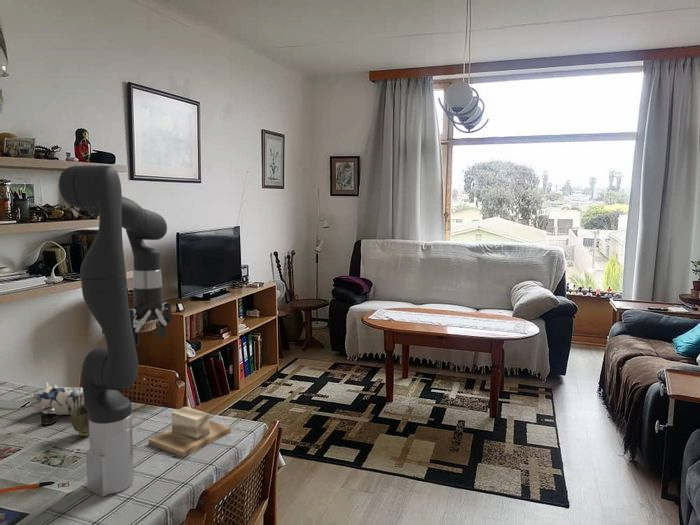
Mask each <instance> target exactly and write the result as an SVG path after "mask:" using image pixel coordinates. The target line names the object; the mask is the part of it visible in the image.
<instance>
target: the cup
mask: <svg viewBox="0 0 700 525" xmlns="http://www.w3.org/2000/svg"><path fill="white" fill-rule="evenodd" d="M69 417H70V421H71V426H72V428H73V429H74V431H75V432H78V433H77V435H78V436H79V437H81V438H87V437H89V415H88V412H87V410H86V408H85V405H84V404H83V405H82V406H81V408H80V407H79V406H78V407H77V409H76V408H73V409H71V411H70V416H69Z"/></svg>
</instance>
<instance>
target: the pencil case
mask: <svg viewBox="0 0 700 525" xmlns="http://www.w3.org/2000/svg"><path fill="white" fill-rule="evenodd" d="M45 387H46V388H45V389H44V390H43V391H42V393H38V394H37V396H36V397H37V398H36V401H40V403H39V409H40V411H41V410H42V408H43V407H45V406H47V405H51V406H53V407H54V409H55V414H56V415H55V416H64V415H65V416H69V415H70V411H71V409H73V408H76V409H77V407H78V406H79V407H80V408H81V406H82V405H83V404H84V395H83V386H82V387H69V386H67V387H66V386H63V387H62V386H57V384H54V383H52V384H49V382H47V383H45Z"/></svg>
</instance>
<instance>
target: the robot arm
mask: <svg viewBox="0 0 700 525" xmlns="http://www.w3.org/2000/svg"><path fill="white" fill-rule="evenodd" d="M121 184H122V183H121V178H120V176H119V173H118V172H117V170H116V169H115V168H114V167H113V166H111V165H74V166H73V165H71V166H68V167H67V168H64V169H63V170H62V172H61V174H60V176H59V179H58V189H59V193H60V195H61V197H62V199H63V200H64V201H65V203H67V205H68V206H71V207H73V208H76V209H80V210H84V211H87V212H90V213H92V214H95V215H98V216H99V220H98V223H99V224H98V230H97V233H96V236H95V238H94V240H93V242H92V244H91V246H90V247H89V249H88V251H87V253H86V254H85V256H84V258H83V260H82V262H81V266H80V271H79V272H80V282H81V283H80V284H81V292H82V293H81V294H82V298H83V300H84V303H85V304H86V306H87V308H88V310H89V312H90V313H91V315H92V316H93V318H94V319H95V321H96V322H97V323H98V325H99V327H100V329H101V330H102V333H103V335H104V338H105V342H106V347H96V348H94V349H91V350H90V351H89V352H88V353H87V354H86V356H85V358H84V359H83V363H82V366H81V367H82V368H81V384H82V387H83V395H84V405H85V408H86V410H87V412H88V415H89V436H88V437H89V449H88V450H86V451H85V458H86V459H85V461H86V462H85V463H86V483H87V484H86V486H87V489H86V490H88V491H90V492H92V493H94V494H97V495H99V496H100V497H103V498H104V497H106V496H108V495H115V494H117V493H120V492H122V491H125V490H127V489H129V487H131V486H132V485H133V483H134V481H135V478H134V476H135V473H134V448H133V447H134V446H133V445H134V444H133V443H134V442H133V413H132V412H133V408H132V407H133V406H132V402H131V400H130V399H129V398H128V397H126V396H125V395H123V394H122V393H121V392H120V391H126V390H128V389H130V388H131V387H133V385H134V384H135V382H136V380H137V377H138V373H139V359H138V353H137V349H136V346H139V345H141V342H140V330H141V328H142V327H143V326H144V325H145V323H148V322H151V321H155V322H156V323H157V324H158V325H157V337H158V339H160V340H163V339H166V338H165V337H166V336H167V328H166V327H167V325H168V324H169V323H172V321H173V317H172V304H171V303H170V302H167V301H163V279H162V268H161V265H162V264H161V260H162V259H161V251H160V250H159V249H157V248H154V247H149V246H147V245H146V243H145V241H146V240H147V241H159V240H161V239H163V238H164V237H165V236H166V234H167V231H168V225H167V222H166V219H165V218H164V217H163V216H162V215H160V214H159V213H157V212H156V211H151V210H149V209H145V208H143V207H142V206H141V205H139V204H138V203H136V202H135V200H132V199H130V198H127V197H125V196H122V194H123V193H122V185H121ZM123 229H124V230H125V232H126V236H127V238H128V239H127V240H128V241H129V244H130V248H131V251H132V255H133V256H132V257H133V274H132V277H133V278H132V284H133V286H132V287H133V289H132V290H133V302H134V303H133V304H134V307H133V308H129V307H130V306H129V297H128V296H129V295H128V294H129V293H128V281H127V269H126V262H125V254H124V244H123V243H124V241H123ZM144 240H145V241H144Z"/></svg>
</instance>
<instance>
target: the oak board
mask: <svg viewBox="0 0 700 525" xmlns="http://www.w3.org/2000/svg"><path fill="white" fill-rule="evenodd" d="M228 433H229V434H230V433H232V427H231V426H229V425H225V424H222V423H219V422H216V421H212V420H210V434H209V435H207V436H205V437H203V438H201V439H199V440H197V441H196V440H193V439H190V438H188V437H185V436H182V435H179V434H176V433H173V432H172V428H169V429H168V430H165V431H163V432H161V433H159V434H157V435H155V436H153V437H150V438H149V439H148V445H150V446H152V447H155V448H157V449H161V450H162V451H166V452H168V453H172V455H173V454H174V455H176V456H179V457H182V458H185V457H187V456H189V455H191V454H193V453H194V452H197V451H198V450H200V449H202V448H205V447H206V446H208V445H209V444H211V442H212V443H213V441H214V442H216V441H217V440H219V439H220V438H222V437H224V435H225V436H227V435H228ZM226 434H227V435H226ZM218 438H219V439H218Z"/></svg>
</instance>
